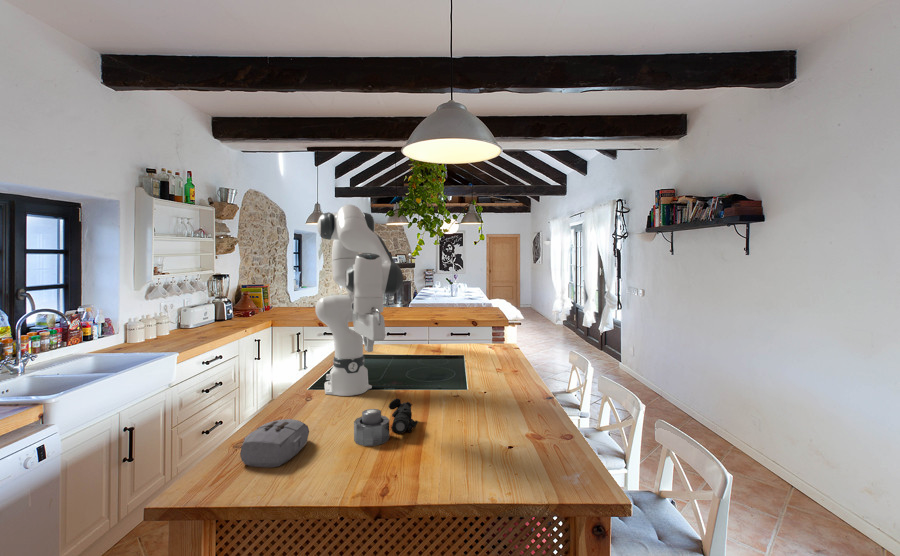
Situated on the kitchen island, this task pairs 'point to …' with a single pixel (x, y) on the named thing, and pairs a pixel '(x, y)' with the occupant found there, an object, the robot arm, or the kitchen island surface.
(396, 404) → the night vision scope
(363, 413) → the white-tipped grey cylinder
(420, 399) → the kitchen island surface
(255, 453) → the grey rounded bag
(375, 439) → the grey faceted round container
